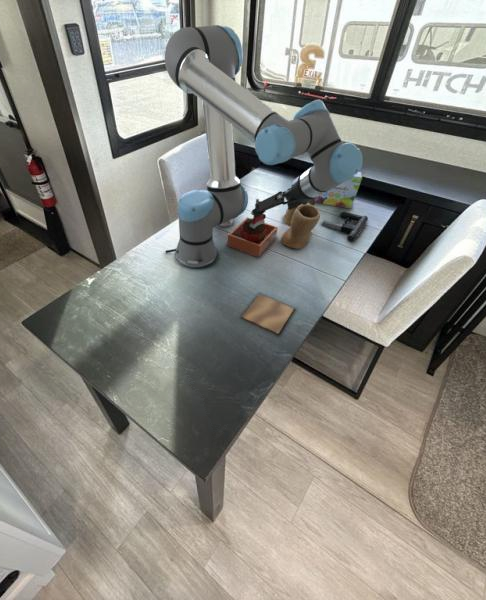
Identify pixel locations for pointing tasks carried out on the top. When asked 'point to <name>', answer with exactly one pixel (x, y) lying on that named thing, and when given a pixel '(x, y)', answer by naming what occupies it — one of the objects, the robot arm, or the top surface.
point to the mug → (227, 223)
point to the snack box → (342, 193)
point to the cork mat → (268, 313)
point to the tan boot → (301, 226)
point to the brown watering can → (290, 213)
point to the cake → (254, 228)
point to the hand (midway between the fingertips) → (271, 210)
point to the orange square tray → (248, 245)
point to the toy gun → (347, 228)
